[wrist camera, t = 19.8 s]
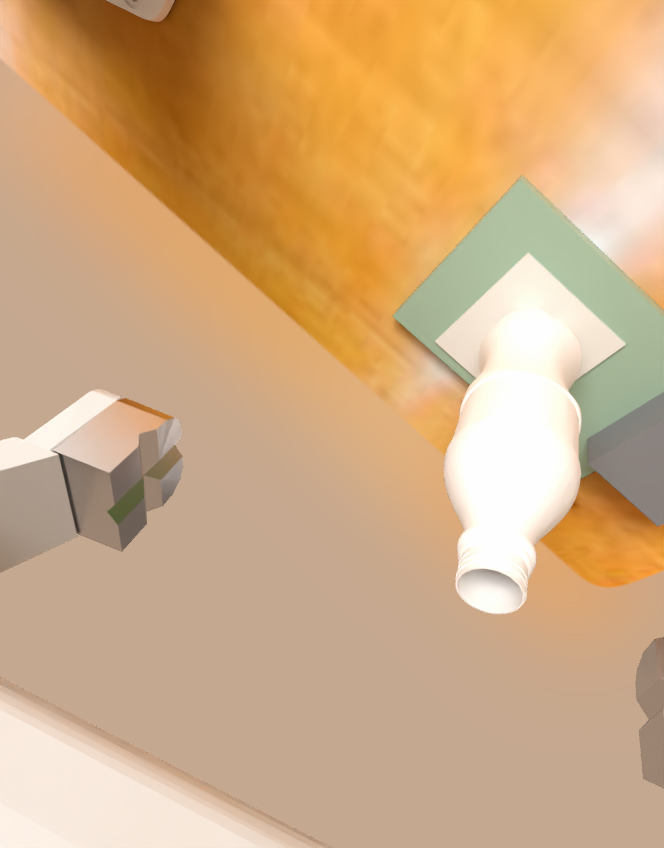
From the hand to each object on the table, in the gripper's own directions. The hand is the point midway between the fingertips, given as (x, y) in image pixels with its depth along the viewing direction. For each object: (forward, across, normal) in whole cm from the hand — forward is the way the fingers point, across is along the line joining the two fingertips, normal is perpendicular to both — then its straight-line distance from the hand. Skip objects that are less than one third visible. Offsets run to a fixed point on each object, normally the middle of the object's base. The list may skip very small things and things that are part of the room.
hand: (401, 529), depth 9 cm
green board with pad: (+37, -8, +14) cm, 41 cm away
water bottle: (+36, -4, +13) cm, 38 cm away
